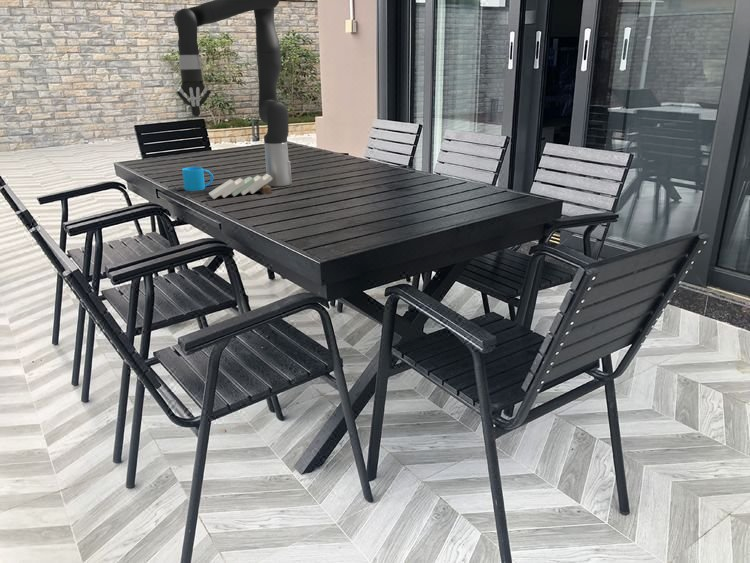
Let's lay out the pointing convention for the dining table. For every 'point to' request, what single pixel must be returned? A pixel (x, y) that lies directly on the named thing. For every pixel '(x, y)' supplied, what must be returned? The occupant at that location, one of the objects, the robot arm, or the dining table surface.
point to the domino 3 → (244, 186)
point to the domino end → (266, 180)
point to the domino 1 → (222, 189)
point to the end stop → (265, 189)
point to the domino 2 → (238, 183)
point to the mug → (195, 178)
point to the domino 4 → (257, 179)
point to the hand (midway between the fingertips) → (196, 116)
